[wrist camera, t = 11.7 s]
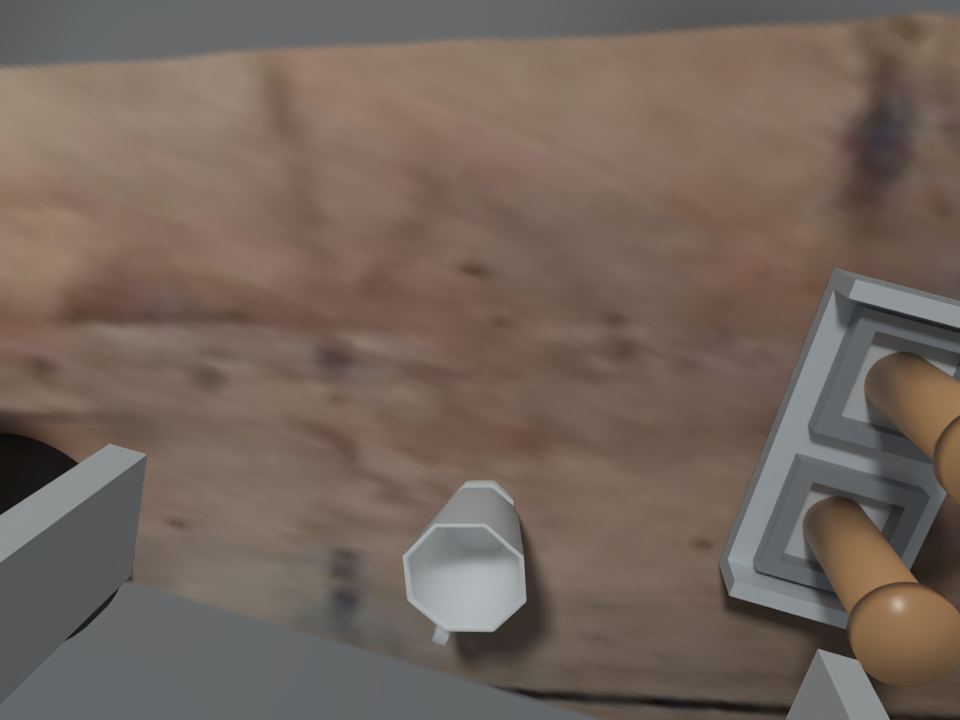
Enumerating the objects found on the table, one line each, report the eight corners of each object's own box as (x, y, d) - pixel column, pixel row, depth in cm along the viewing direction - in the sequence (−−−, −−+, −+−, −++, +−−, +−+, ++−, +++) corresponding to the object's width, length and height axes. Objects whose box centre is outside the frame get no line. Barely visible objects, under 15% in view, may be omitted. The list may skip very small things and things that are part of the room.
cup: (554, 481, 48) (548, 547, 41) (501, 612, 51) (487, 696, 44) (447, 443, 49) (421, 501, 41) (400, 575, 52) (369, 652, 44)
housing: (718, 562, 48) (729, 595, 45) (834, 267, 43) (855, 279, 39) (878, 608, 48) (901, 645, 44) (1016, 316, 42) (1055, 331, 39)
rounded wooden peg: (779, 548, 46) (837, 669, 36) (809, 477, 45) (878, 581, 34) (859, 571, 46) (941, 699, 36) (891, 500, 45) (986, 612, 34)
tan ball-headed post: (872, 331, 42) (972, 396, 32) (960, 354, 42) (1090, 428, 32) (839, 411, 44) (924, 500, 33) (924, 434, 43) (1037, 530, 33)
